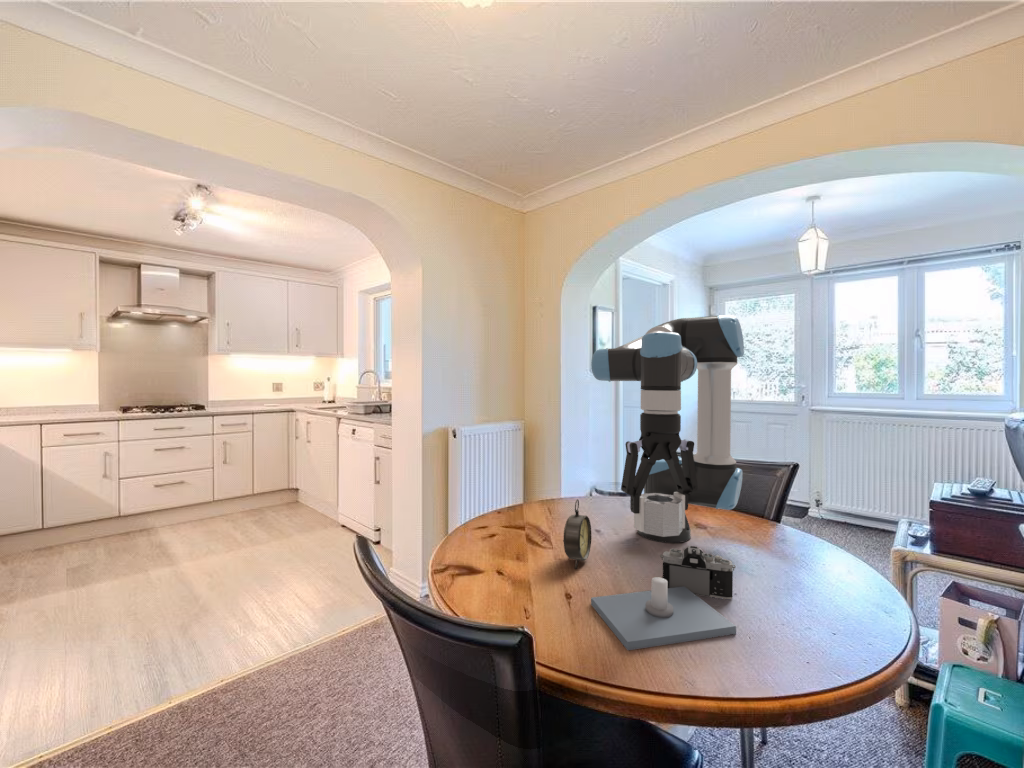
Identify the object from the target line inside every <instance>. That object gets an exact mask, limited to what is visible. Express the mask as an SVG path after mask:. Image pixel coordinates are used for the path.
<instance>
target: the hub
mask: <svg viewBox="0 0 1024 768" xmlns="http://www.w3.org/2000/svg"><path fill="white" fill-rule="evenodd" d="M641 496H642V497H644V498H645V513H644V533H646V534H651V535H656V536H662V537H666V536H677V535H679V534H680V533H681V532H682V528H683V500H682V499H680V498H678V497H676V496H673V495H667V494H660V493H648V494H644V493H642V494H641Z"/></svg>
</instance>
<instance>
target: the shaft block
mask: <svg viewBox="0 0 1024 768" xmlns="http://www.w3.org/2000/svg"><path fill="white" fill-rule="evenodd" d="M590 605H591V607H593V609H594V610H595V611H596V612H597V614H598V615H599V617H600V618H601V619H602V621H604V623H605V624H606V625H607V627H609V629H610V630H611V631H612V633H613V634H614V635H615V637H616V638H617V639H618V640H619V642H620V643H621V645H622V646H624V648H625V649H626V651H632V650H633V651H634V650H639V649H645V648H646V649H647V648H652V647H653V648H654V647H658V646H659V647H660V646H666V645H672V644H678V643H679V644H680V643H687V642H692V641H700V640H705V639H706V638H707V639H713V638H718V636H720V637H725V636H724V635H726V636H731V635H730V634H733V635H736V634H737V625H736V624H734V623H733V622H732V621H730V620H729V619H728V618H727V617H726V616H724V615H722V614H721V613H720V612H719V611H718V610H716V609H715V608H713V606H711V605H709V604H708V603H707V602H705V600H704V599H701V598H700V596H699V595H695V594H694V593H692V592H691V591H690V590H688V589H687V588H686V587H685V586H683V587H675V588H668V581H667V580H666V579H664V578H663V577H660V576H659V577H658V576H657V577H656V576H655V577H652V578H651V589H650V590H645V591H644V590H642V591H635V592H625V593H617V594H609V595H602V596H593V597H591V598H590ZM712 637H713V638H712Z"/></svg>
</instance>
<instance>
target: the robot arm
mask: <svg viewBox="0 0 1024 768" xmlns="http://www.w3.org/2000/svg"><path fill="white" fill-rule="evenodd" d="M744 354H745V343H744V335H743V331H742V326H741V323H740V320H739V319H738V317H736V316H735V315H724V314H723V315H710V316H709V315H708V316H697V317H681V318H676V319H672V320H669V321H667V322H663V323H661V324H658V325H656V326H653V327H651V328H650V329H649V330H647V331H646V332H645V333H644V334H643V336H640V337H638V338H636V339H634V340H631V341H629V342H626V343H625V344H622V345H621V346H618V347H613V348H609V347H607V348H602V349H600V348H599V349H597V350H595V351H594V352H593V354H592V357H591V364H590V366H591V372H592V375H593V376H594V378H595V379H596V380H598V381H601V382H602V381H604V382H605V381H607V382H609V383H610V382H640V410H642V411H643V412H641V414H640V419H639V420H640V421H639V422H640V423H639V424H640V427H639V428H640V429H639V430H640V437H639V439H638V440H636V441H629V440H628V441H626V442H625V444H624V445H625V452H626V454H625V455H626V456H625V462H624V468H623V473H622V480H621V487H620V490H621V492H623V493H625V494H626V495H629V497H630V505H629V506H630V509H629V510H630V512H631V513H633V528H634V529H636V530H637V533H638V534H639V536H641V537H643V538H645V539H647V540H651V541H654V542H660V543H666V544H667V543H668V544H669V543H670V544H674V543H675V544H676V543H683V542H684V543H685V542H687V541H689V540H690V539H691V532H692V531H691V527H690V523H689V520H688V517H687V514H686V511H688V509H689V505H694V506H700V507H701V506H702V507H705V508H706V507H707V508H713V509H716V510H718V509H720V510H721V509H722V510H727V511H729V510H730V511H731V510H734V509H735V508H736V506H737V504H738V502H739V499H740V495H741V489H742V485H743V476H744V475H743V473H744V472H743V469H742V468H739V467H737V460H735V458H734V457H733V456H731V429H732V428H731V427H732V426H731V424H732V423H731V421H732V420H731V418H732V417H731V416H732V414H731V413H732V411H731V410H732V409H731V407H732V401H731V400H732V398H731V397H732V369H733V368H734V367H735V366H737V365H738V358H741V357H743V356H744ZM696 372H697V431H696V432H697V433H696V436H697V437H696V438H697V439H696V440H697V441H696V442H697V444H696V449H697V450H696V454H695V455H694V449H695V442H694V441H692V440H688V439H681V437H680V432H681V431H682V430H681V429H682V428H681V423H682V422H681V421H682V418H681V417H682V415H681V414H680V413H679V412H680V411H681V410H682V387H681V386H682V382H684V381H687V380H689V379H690V378H691V377H693V376H694V375H695V374H696ZM641 449H642V455H641V458H640V463H639V466H638V461H639V452H641ZM678 449H679V450H680V452H679V453H680V456H679V455H678V453H677V450H678ZM637 467H638V469H637ZM648 493H660V494H667V495H673V496H676V497H678V498H680V499H682V500H683V528H682V532H681V533H680V534H679V535H677V536H666V537H662V536H656V535H651V534H646V533H644V513H645V498H644V497H642V496H641V494H648Z"/></svg>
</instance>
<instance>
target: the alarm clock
mask: <svg viewBox="0 0 1024 768" xmlns="http://www.w3.org/2000/svg"><path fill="white" fill-rule="evenodd" d="M579 506H580V501H579V499H578V498H577V499H576V500H575V503H574V513H575V514H571V515H569V516H568V517H567V519H566V522H565V525H564V530H563V540H562V541H563V548H564V552H565V555H566V556H567V558H568V560H570V559H571V560H575V563H574V564H575V565H574V570H575V569H578V565H579V561H586V560H587V559H588V557H589V555H590V553H591V552H590V551H591V546H592V525H591V520H590V518H589V516H587V515H581V514H580V513H579V508H580V507H579Z"/></svg>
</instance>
